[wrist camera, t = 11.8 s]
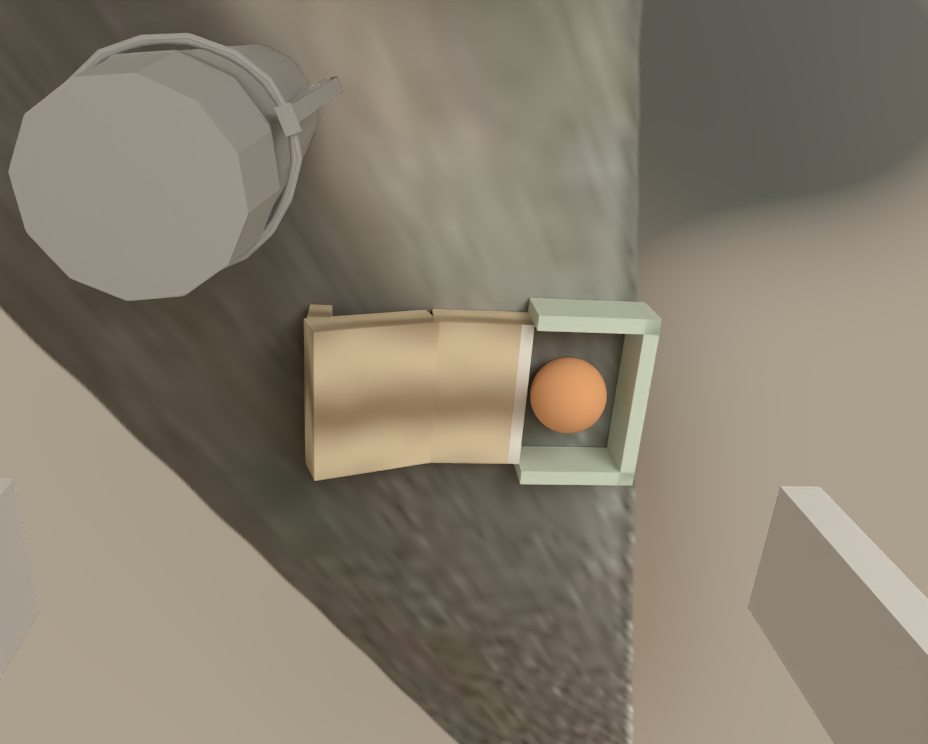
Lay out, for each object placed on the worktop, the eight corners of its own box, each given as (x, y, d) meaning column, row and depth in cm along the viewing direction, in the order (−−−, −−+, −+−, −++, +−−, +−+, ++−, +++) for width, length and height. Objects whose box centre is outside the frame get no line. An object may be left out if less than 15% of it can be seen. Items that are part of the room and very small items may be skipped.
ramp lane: (307, 304, 50) (300, 331, 45) (527, 312, 51) (542, 339, 47) (308, 442, 54) (302, 480, 49) (513, 445, 55) (525, 483, 51)
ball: (520, 349, 52) (558, 374, 47) (585, 345, 54) (627, 369, 49) (513, 418, 53) (549, 449, 49) (575, 412, 55) (615, 441, 51)
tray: (529, 297, 51) (539, 315, 48) (644, 302, 52) (662, 319, 49) (512, 458, 56) (519, 484, 53) (618, 459, 57) (632, 485, 53)
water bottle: (227, 196, 47) (79, 353, 24) (164, 62, 43) (-75, 96, 21) (371, 143, 46) (361, 252, 23) (319, 4, 43) (249, -27, 20)
